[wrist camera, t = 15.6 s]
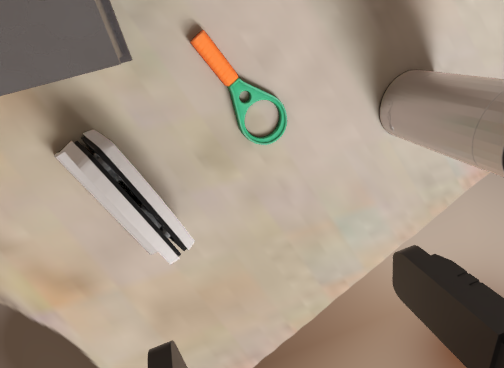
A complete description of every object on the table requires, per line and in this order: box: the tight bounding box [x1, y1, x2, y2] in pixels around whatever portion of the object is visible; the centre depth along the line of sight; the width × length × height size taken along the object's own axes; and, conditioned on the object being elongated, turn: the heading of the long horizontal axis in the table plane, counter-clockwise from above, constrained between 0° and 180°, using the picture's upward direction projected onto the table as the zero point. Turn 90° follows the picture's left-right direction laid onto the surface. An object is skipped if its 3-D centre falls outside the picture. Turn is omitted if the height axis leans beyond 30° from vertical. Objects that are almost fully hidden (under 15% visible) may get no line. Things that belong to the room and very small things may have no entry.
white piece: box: [54, 129, 195, 265], centre depth 34 cm, size 17×5×10 cm, turn 28°
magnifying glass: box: [190, 30, 287, 145], centre depth 36 cm, size 15×6×2 cm, turn 39°
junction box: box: [0, 0, 132, 96], centre depth 24 cm, size 9×10×11 cm
